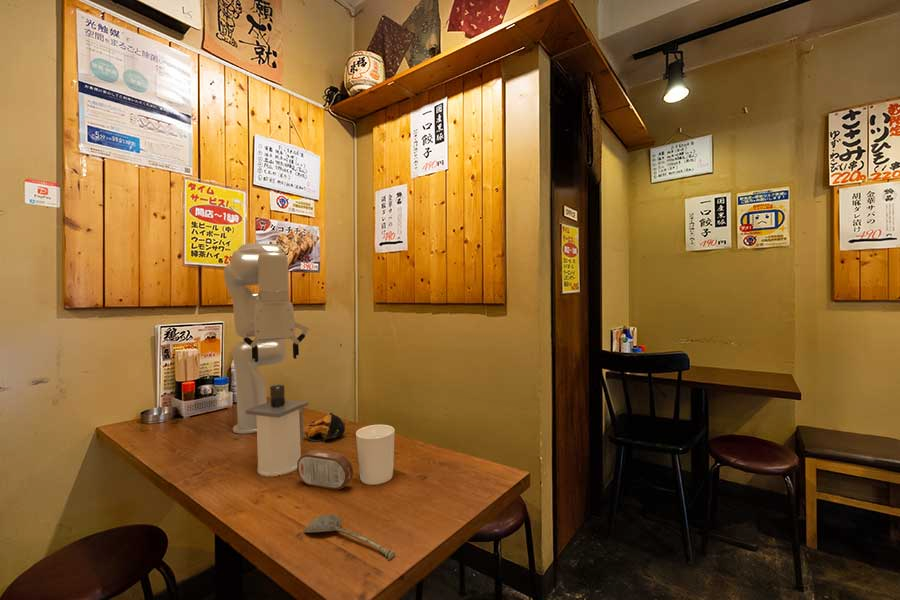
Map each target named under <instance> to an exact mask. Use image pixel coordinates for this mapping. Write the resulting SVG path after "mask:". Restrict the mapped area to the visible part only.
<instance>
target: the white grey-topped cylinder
mask: <svg viewBox="0 0 900 600" xmlns="http://www.w3.org/2000/svg"><path fill="white" fill-rule="evenodd" d="M308 406H309V401H304V400H303V401H302V400H291V399H285V404H283V405H280V407H279V408H276V406H271V401H269V402H267V403H265V404H262V405H259V406H256V407H254V408H251V409H248V410H246V414H251V415H256V419H257V432H256V440H257V441H256V443H257V446H256V447H257V474H259V476H261V477H269V476H270V477H278V475H280V476H283V474H284V475H287V474H290V473H292V472H294V471H296V470H298V469H297V462H298V460H299V458H300V457H301V456H302V453H301V442H303V441H304V433H303V427H304V422H303V420H304V419H303V408H306V407H308Z"/></svg>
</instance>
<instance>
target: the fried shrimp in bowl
mask: <svg viewBox="0 0 900 600" xmlns="http://www.w3.org/2000/svg"><path fill="white" fill-rule="evenodd" d="M345 427H346V422H343V420H342V419H341V418H340V417H339V416H338V415H336V414H334V413H333V412H330V413H329V414H328V415H326V416H324V418H319V419H316V420H313V421H312V422H310V423H309V424H307V425H306V426H303V435H305V436H306V438H307V439H308V440H309V441H312V442H319V441H327V440H333V439H337V437H339V436H343V435H344V433H345V431H346V428H345Z"/></svg>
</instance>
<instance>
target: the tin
mask: <svg viewBox="0 0 900 600" xmlns="http://www.w3.org/2000/svg"><path fill="white" fill-rule="evenodd" d="M296 470H297V475H298V477H299V478H300V480H301V481H302V482H303V483H304V484H306V485H308V486H311V487H317V488H323V489H329V490H334V491H337V490H338V491H339V490H341V489H344V487H345V486H347V485H349V484H350V483H351V481H352V479H353V478H354V477H353V476H354V468H353V465H352V463H351V461H350V459H349V458H348V457H346V456H345V455H344V454H342V453H340V452H339V453H338V452H332V451H326V450H318V449H310V450H307V451H306V452H305V453H304V454H301V457H300V458H299V460H298V462H297V469H296Z"/></svg>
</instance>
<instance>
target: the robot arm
mask: <svg viewBox="0 0 900 600" xmlns="http://www.w3.org/2000/svg"><path fill="white" fill-rule="evenodd" d="M282 249H283V248H281V246H279V245H278V244H274V243H257V242H255V243H254V242H248V243H245V244H244V243H243V244H242V245H240V246H239V247H238V248H237V250H234V251H233V252H232V254H231V257H230V263H228V264H226V265H225V266H224V269H223V278H224V284H225V286H226V289H227V291H228V293H229V295H230V297H231V299H232V306H233V318H234V319H233V321H234V329H235V333H236V335H237V336H238V337H241V338H242V340H243V341H239V342H238V343H236V344H234V346H233V347H232V349H231V350H232V351H231V352H232V353H231V355H232V360H233V361H232V362H233V366H234V371H235V372H234V374H235V384H236V385H235V387H236V388H235V389H236V412H237V414H236V415H237V424H235V425H234V426H233V427H232V432H233V433H234V434H235V433H236V434H246V435H247V434H254V433H257V419H256V415H251V414H246V410H248V409H251V408H254V407H256V406H259V405H262V404H265V403H268V402H267V401H268V400H267V380H266V379H267V378H266V375H265V374H264V373H263V372H262V371H260V370H259V369H258V367H262V366H269V365H270V366H271V365H278V364H282V363H283V362H284V361H286V356H287V350H286V348H287V347H286V340H287V339H289V340H290V339H291V341H292V342H293V343H292V358H293V359H294V360H295V359H297V356H299V355H300V349H299V345H300V344H301V342H302V341H303V340H304V339H305V338H306V336H307V334H308V332H309V327H308V326H305V325H304V324H300V323H298V322H296V320H295V309H294V306H293V302H291V301H290V293H289V292H290V291H289V289H290V288H289V286H290V285H289V261H288V260H289V258H288V255H286V254H285V253H284V252H283V250H282ZM248 286H258V292H257V293H255V292H254V291H253V290H252V289H251V288H250V287H248ZM296 329H299V330H301V331H302V332H301V333H300V335H299V336H298V337H297V336H296ZM251 338H254V339H253V340H252V339H251Z"/></svg>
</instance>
